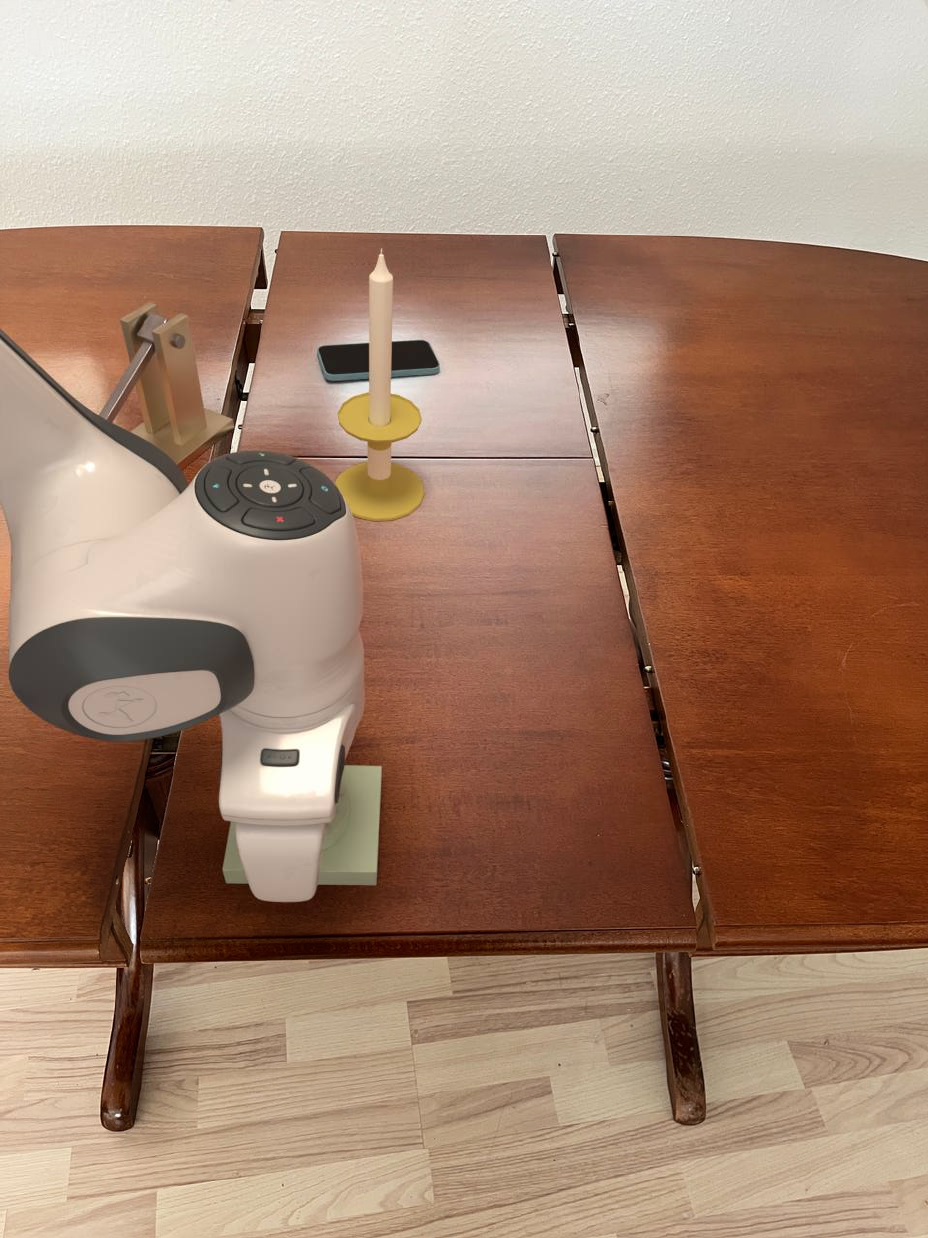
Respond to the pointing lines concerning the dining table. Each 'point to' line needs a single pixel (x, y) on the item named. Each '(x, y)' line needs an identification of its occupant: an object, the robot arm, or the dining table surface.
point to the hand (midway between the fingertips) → (306, 802)
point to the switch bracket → (172, 390)
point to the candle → (380, 422)
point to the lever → (133, 368)
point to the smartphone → (355, 360)
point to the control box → (338, 834)
